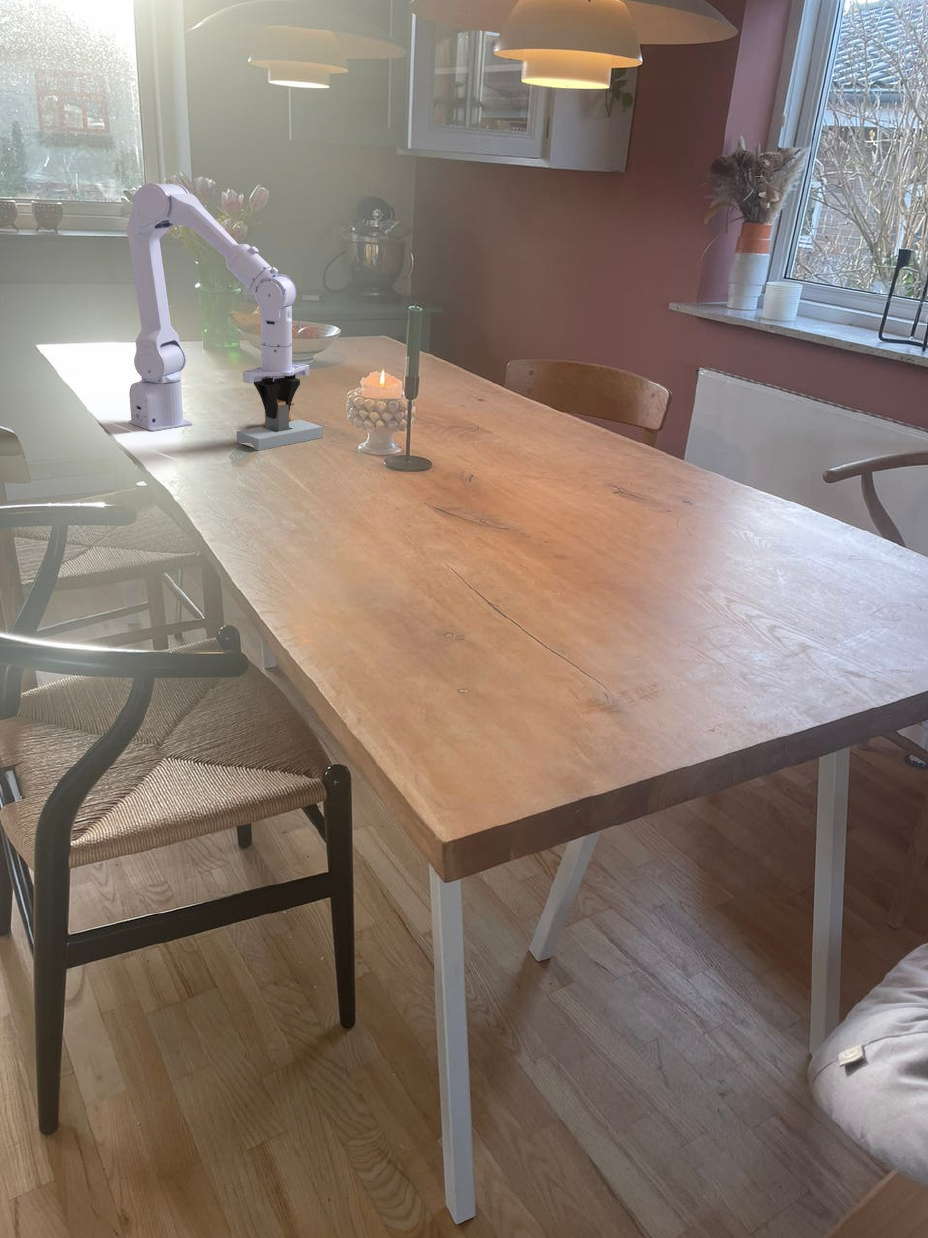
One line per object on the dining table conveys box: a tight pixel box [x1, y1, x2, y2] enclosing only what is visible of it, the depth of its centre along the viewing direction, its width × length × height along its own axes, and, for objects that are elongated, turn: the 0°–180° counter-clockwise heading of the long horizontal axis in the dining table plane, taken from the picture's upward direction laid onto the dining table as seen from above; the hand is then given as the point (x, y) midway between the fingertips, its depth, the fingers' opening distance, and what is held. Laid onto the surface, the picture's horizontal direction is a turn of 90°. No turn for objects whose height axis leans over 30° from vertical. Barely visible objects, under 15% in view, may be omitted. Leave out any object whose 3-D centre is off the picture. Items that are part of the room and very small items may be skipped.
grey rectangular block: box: [264, 400, 289, 432], centre depth 183 cm, size 2×4×7 cm, turn 50°
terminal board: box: [236, 419, 324, 452], centre depth 183 cm, size 16×6×2 cm, turn 140°
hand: (277, 416), depth 183 cm, fingers closed on grey rectangular block, 2 cm apart
